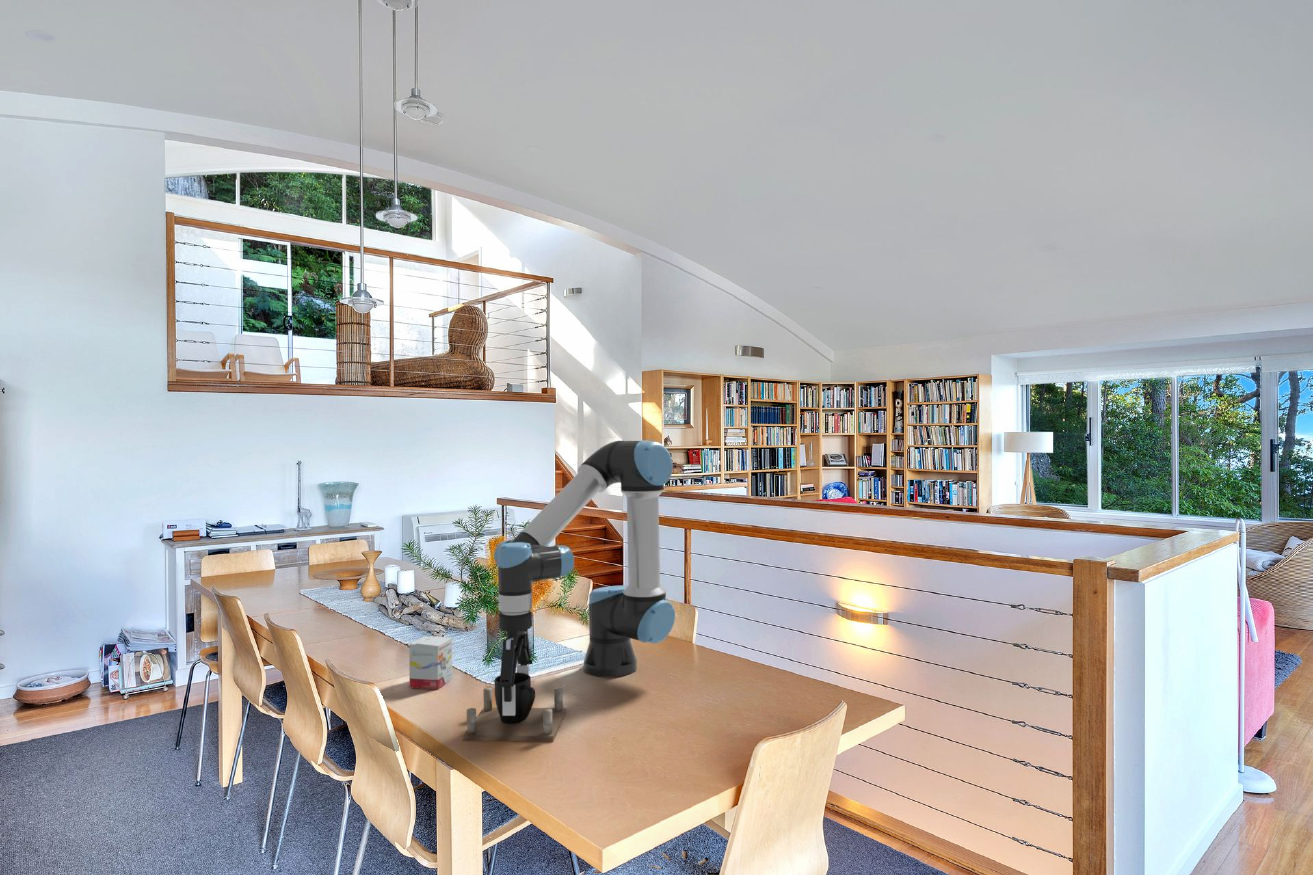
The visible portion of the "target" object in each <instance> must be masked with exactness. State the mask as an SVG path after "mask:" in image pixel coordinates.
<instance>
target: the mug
mask: <svg viewBox="0 0 1313 875" xmlns="http://www.w3.org/2000/svg"><path fill="white" fill-rule="evenodd" d="M531 680H532V679H531V676H530V674H529V675H528V674H525V673H517V672H515V679H514V685H515V707H516V714H515V716H503V706H502V687H498V683H500V675H497V676H496V677H495V678H494V682H493V683H494V685H493V686H494V699H495V704H496V708H497V709H498V712H499V715H500V719H501V721H502V722H503V723H506V724H515V723H519V722H522V721H524V720H526V718H527V717H528V715H529V713H530V710H531V708H533V705H534V702H535V699H536V690H535V688H534V687H532V685H531V683H532V682H531ZM506 681H508V680H506Z"/></svg>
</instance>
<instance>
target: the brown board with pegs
mask: <svg viewBox="0 0 1313 875" xmlns="http://www.w3.org/2000/svg"><path fill="white" fill-rule="evenodd" d="M553 693H554V694H553V695H554V696H553V698H554V699H553V703H554V705H553V706H554V707H532V708H531V710H530V713H529V715H528V717H527V718H526V720H524V721H522V722H519V723H515V724H506V723H503V722H502V721H501V719H500V715H499V712H498V709H497V707H493V688H492V687H484V688H483V708H482V709H481V710H480V712H479V713H478V714H477V708H474V707H471V708H467V709H466V730H465V732H464V733H463V734H462V742H463V741H464V740H465V741H473V742H474V740H475V741H477V742H479V741H481V742H488V741H489V742H554V741H555V739H556V737H557V734H558V733H559V730H560V728H561V726H562V723H563V720H564V719H565V717H566V714H567V708H566V707H564V706H563V705H564V700H563V699H564V696H563V688H561V687H559V688H558V687H557V688H554V690H553Z"/></svg>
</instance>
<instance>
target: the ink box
mask: <svg viewBox="0 0 1313 875" xmlns="http://www.w3.org/2000/svg"><path fill="white" fill-rule="evenodd" d="M408 649H409V650H408V651H409V663H408V664H409V665H408V666H409V688H410V689H425V690H439V689H441V688H442V687H444V686H445V685H446V684H448V683H449V682H450V681H452V680H453V637H446V636H433V635H431V636H429V635H424V636H423V637H421V638H419V639H416V640H415V641H412V642H411V643H409V648H408Z"/></svg>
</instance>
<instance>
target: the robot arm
mask: <svg viewBox="0 0 1313 875" xmlns="http://www.w3.org/2000/svg"><path fill="white" fill-rule="evenodd" d="M668 450H669V449H667V448H666V446H665V445H663V444H662V443H660V442H657V441H652V440H651V441H650V440H646V439H645V440H615V441H612V442H609V443H607V444H605V445H603V446H602V447H600V448H599V449H597V450H596V451H594V452H593V453H592V454H590V456H588V457H587V458H586V459H585V460H584V462H582V464H580V465H579V466H578V469H577V474H575V476H574V477H573V478H572V479H571V480H570V481H569V482H568V483H567V484H566V485H565V486H564V487H563V488H562V489H560V491H559V492H558V494H556V495H555V496H554V497H553V499H552V500H550V502H549V503H547V505H546V506H544V508H542V510H541V511H539V513H537V515H536V516H535V517H534V518H533V519H532V520H531V521H530V522H529V523H528V524H527V525H526V526H525V527H524V528H523V529H522V530H521V531H520V532H519V533H518V534H517V535H516V536H515V537H514V538H513V539H508V540H507V539H506V540H503V541H501V542H499V543H498V544H497V545H496V547H495V548H494V549H495V550H494V554H493V559H494V563H495V564H496V565H495V566H497V582H498V583H497V584H498V585H497V587H498V596H496V597H495V598H496V599H495V600H496V601H497V602H498V611H500V612H499V613H498V629H499V630H500V631H502V632H506V633H507V636H506V637H505V639H503V640H502V657H501V664H500V674H499V676H500V683H498V687H502V706H503V716H515V714H516V707H515V685H514V679H515V673H525V674H528V675H529V676H530V665H533V659H532V654H531V647H530V640H529V634H528V630H529V629H531V628H532V627H533V612H532V611H531V610H532V609H533V590H532V588H533V586H532V585H533V583H535V582H540V581H541V582H542V581H546V580H551V579H560V578H561V577H565V576H568V575H570V574H571V572H572V571H573V569H574V566H575V557H574V553H573V551H572V549H571V548H570V547H568V546H567V545H564V544H563V545H562V544H560V545H557V544H554V545H553V546H549V545H550V544H551V543H552V542H553V541H554V540H555V538H556V537H558V536H559V535H560V533H561V532H562V531H563V530H565V528H566V527H567V526H568V525H569V524H570V523H571V521H573V519H575V518H576V516H577V515H578V514H579V513H580V512H581V511H582V510H583V508H585V506H586V505H588V504H589V503H590V501H591V500H592V499H593V498H594V497H595V496H596V495H597V494H598V493H603V492H605V490H606V489H607V488H609V487H610V486H611V485H614V484H617V483H620V491H621V492H622V495H624V496H625V497H626V519H627V520H626V522H627V524H626V526H627V529H626V530H627V534H626V535H627V574H628V575H627V578H628V582H627V583H628V584H627V585H612V586H611V585H609V586H603V587H598V588H595V589H592V590H591V591H590V592H589V595H588V596H589V597H588V598H589V600H588V603H587V604H588V625H589V626H588V628H589V634H588V635H589V641H588V642H589V643H588V646H587V649H586V653H585V656H584V659H583V671H584V673H586V674H588V675H590V676H595V677H603V678H608V677H609V678H610V677H611V678H612V677H620V676H625V675H630V674H632V673H634V672H635V671H637V669H638V659H637V656H636V654H635V650H634V648H633V644H632V642H631V641H632V640H636V641H639V642H641V643H645V644H646V643H647V644H648V643H649V644H659V643H661V642H663V641H664V640H665V639H666V638H667V637H669V634H670V632H672V630H673V627H674V624H675V621H676V610H675V607H674V606H673V604H672V603H671V602H670V601H668V600H667V597H666V595H667V594H666V589H665V587H663V586H662V585H661V576H660V575H661V567H660V566H661V565H660V564H661V563H660V560H661V559H660V521H659V520H660V519H659V518H660V517H659V514H660V513H659V512H660V511H659V510H660V509H659V507H660V506H659V496H661V494H662V493H663V492H664V491H665V484H667V483H668V482H669V481H670V478H671V476H672V473H673V468H674V467H673V460H672V456H671V454H670V452H669V451H668ZM517 664H518V665H517ZM506 680H508V681H506Z"/></svg>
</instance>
